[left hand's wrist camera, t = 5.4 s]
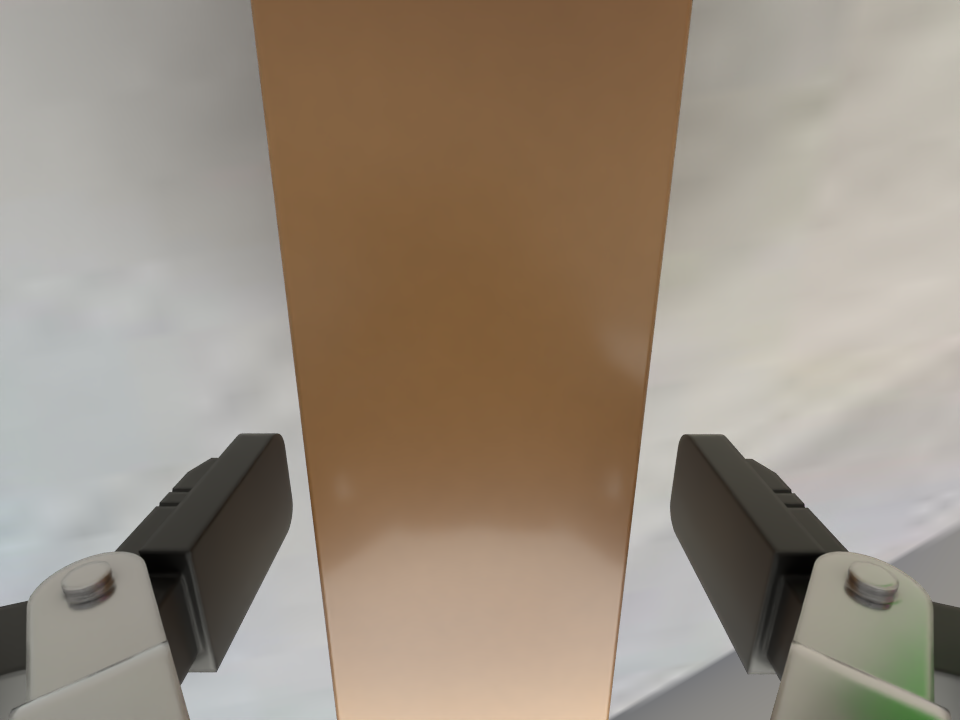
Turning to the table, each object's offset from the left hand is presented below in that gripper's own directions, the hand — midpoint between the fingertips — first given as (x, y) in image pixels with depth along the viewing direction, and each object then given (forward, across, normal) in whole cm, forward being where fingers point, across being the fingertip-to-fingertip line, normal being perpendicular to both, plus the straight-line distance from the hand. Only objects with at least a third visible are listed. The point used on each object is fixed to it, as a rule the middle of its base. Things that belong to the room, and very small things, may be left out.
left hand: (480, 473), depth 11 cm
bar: (+6, 0, -9) cm, 11 cm away
